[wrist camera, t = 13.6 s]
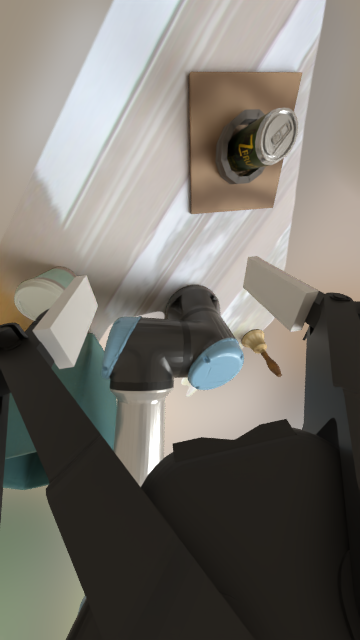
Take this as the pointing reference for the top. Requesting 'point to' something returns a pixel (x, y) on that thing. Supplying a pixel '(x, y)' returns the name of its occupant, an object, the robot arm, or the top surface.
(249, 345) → the hand bell
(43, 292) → the coffee cup
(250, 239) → the top surface
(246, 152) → the beer can
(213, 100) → the collar holder
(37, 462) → the flower pot
